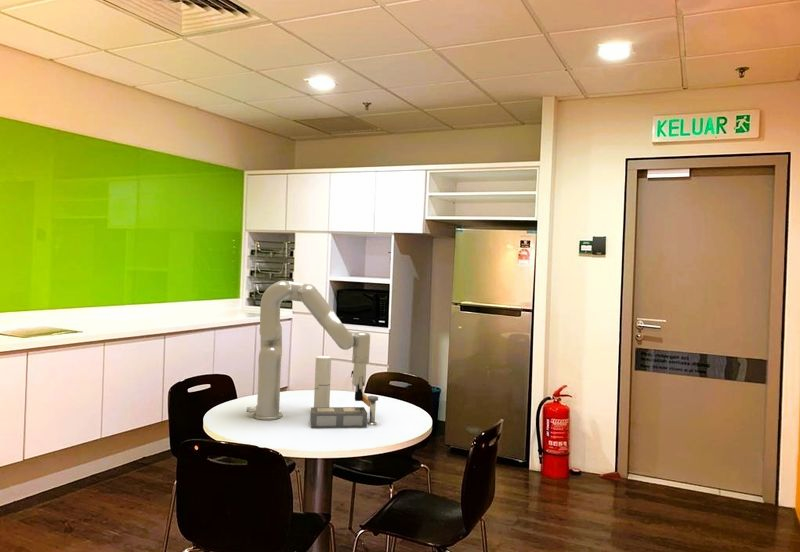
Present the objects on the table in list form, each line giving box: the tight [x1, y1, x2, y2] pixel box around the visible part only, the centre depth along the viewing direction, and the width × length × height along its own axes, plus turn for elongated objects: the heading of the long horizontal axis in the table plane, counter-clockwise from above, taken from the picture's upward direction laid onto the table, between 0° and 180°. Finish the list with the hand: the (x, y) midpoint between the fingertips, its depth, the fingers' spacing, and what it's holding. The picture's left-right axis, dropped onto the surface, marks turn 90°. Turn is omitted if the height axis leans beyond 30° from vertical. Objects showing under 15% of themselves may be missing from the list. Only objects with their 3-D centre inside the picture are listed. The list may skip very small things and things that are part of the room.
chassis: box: [310, 406, 368, 429], centre depth 256 cm, size 23×11×6 cm, turn 101°
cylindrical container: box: [313, 355, 332, 407], centre depth 279 cm, size 7×7×25 cm
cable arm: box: [361, 392, 379, 408], centre depth 269 cm, size 26×4×5 cm, turn 19°
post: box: [367, 401, 378, 426], centre depth 259 cm, size 4×4×10 cm
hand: (358, 400), depth 271 cm, fingers closed
